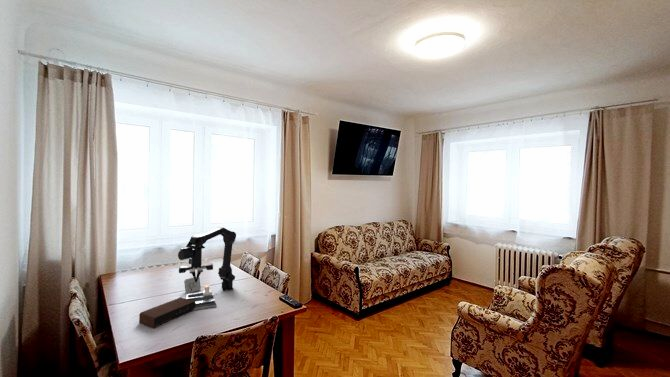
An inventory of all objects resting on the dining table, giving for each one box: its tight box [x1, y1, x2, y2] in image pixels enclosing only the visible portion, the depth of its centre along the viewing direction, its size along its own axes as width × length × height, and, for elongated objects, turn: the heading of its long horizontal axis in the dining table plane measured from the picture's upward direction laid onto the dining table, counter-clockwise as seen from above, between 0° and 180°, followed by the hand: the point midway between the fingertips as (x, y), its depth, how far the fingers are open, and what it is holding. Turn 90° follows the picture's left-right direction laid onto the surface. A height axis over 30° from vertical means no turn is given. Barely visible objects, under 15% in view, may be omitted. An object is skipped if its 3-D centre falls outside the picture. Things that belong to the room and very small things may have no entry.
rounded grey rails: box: [193, 302, 217, 311], centre depth 165 cm, size 17×4×1 cm, turn 117°
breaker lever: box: [202, 284, 212, 296], centre depth 177 cm, size 4×4×6 cm
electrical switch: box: [183, 276, 202, 294], centre depth 190 cm, size 9×5×9 cm, turn 141°
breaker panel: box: [184, 289, 216, 306], centre depth 175 cm, size 16×18×4 cm
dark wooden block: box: [138, 297, 196, 330], centre depth 154 cm, size 24×12×6 cm, turn 155°
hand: (196, 281), depth 174 cm, fingers closed
